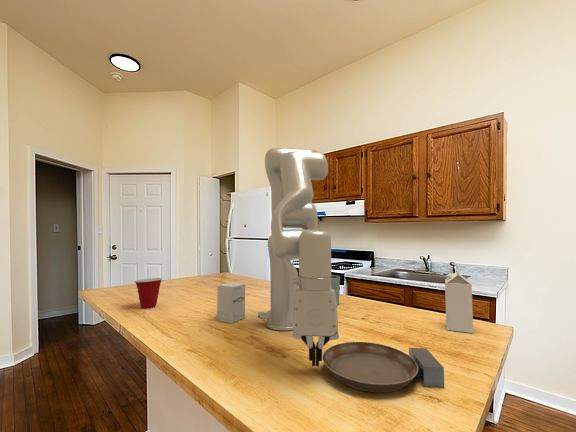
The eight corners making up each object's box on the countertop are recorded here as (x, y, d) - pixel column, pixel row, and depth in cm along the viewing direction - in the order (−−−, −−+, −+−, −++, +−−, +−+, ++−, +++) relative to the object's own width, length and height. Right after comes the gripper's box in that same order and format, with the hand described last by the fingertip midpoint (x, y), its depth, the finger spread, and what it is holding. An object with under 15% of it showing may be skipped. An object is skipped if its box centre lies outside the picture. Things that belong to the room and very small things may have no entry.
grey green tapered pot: (342, 307, 125) (341, 278, 125) (317, 307, 125) (317, 278, 125) (338, 301, 135) (338, 274, 135) (315, 301, 135) (315, 274, 136)
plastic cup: (153, 302, 134) (153, 275, 134) (167, 306, 127) (167, 277, 128) (128, 307, 125) (129, 279, 126) (142, 312, 119) (142, 281, 119)
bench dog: (424, 386, 62) (423, 366, 62) (409, 364, 72) (408, 347, 72) (444, 387, 61) (443, 367, 61) (426, 365, 71) (426, 348, 71)
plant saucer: (441, 390, 60) (441, 373, 61) (349, 407, 55) (349, 389, 55) (382, 350, 80) (382, 338, 80) (310, 360, 75) (309, 346, 75)
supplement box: (231, 323, 103) (232, 286, 104) (216, 320, 107) (216, 284, 108) (245, 318, 110) (245, 283, 110) (230, 315, 114) (230, 281, 114)
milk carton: (470, 327, 99) (468, 269, 100) (473, 333, 92) (471, 271, 93) (446, 324, 102) (444, 268, 103) (447, 330, 95) (445, 270, 96)
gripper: (281, 286, 67) (281, 370, 66) (349, 287, 65) (350, 373, 64) (285, 280, 74) (285, 355, 73) (346, 281, 72) (347, 358, 72)
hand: (315, 363), depth 69 cm, fingers closed
